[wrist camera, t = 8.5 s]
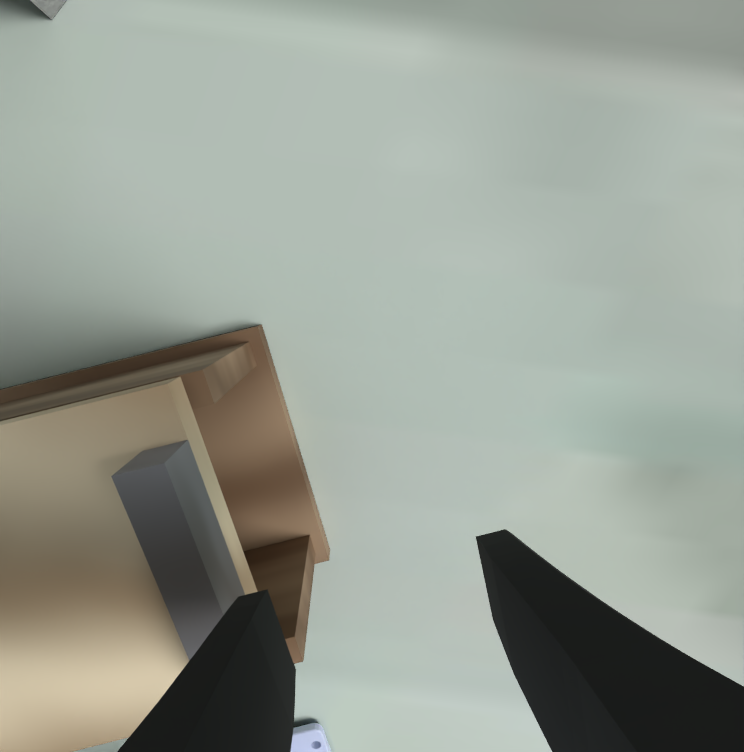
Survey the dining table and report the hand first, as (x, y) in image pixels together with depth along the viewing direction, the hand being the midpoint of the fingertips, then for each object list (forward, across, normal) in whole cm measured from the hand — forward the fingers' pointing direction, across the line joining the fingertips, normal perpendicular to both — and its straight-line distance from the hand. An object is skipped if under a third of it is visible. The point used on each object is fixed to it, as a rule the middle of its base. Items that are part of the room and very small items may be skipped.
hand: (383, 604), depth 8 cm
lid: (+4, +9, 0) cm, 10 cm away
